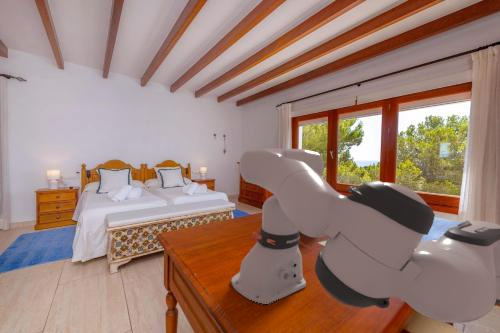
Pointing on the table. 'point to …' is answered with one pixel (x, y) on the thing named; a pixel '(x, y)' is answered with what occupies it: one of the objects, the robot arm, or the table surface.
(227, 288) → the table surface
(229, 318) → the table surface
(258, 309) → the table surface
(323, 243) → the sage mat
